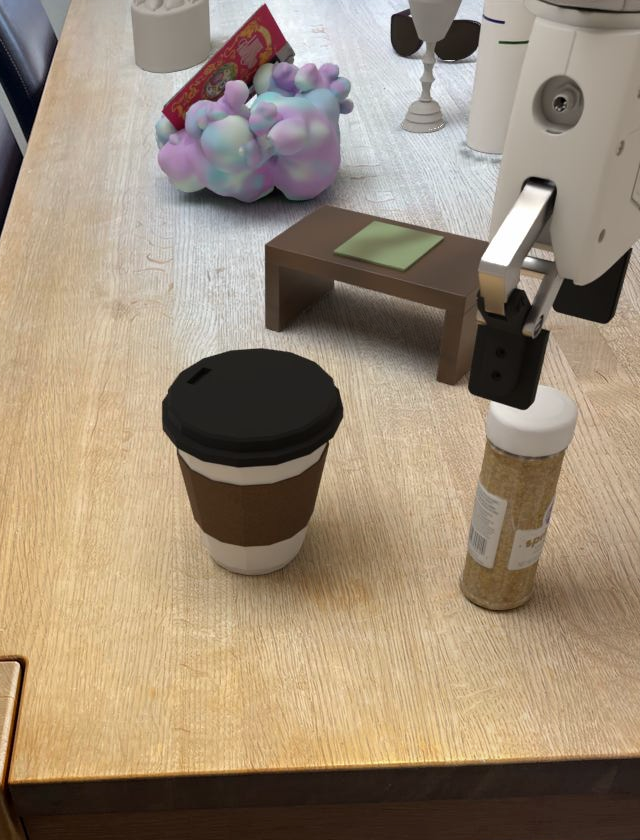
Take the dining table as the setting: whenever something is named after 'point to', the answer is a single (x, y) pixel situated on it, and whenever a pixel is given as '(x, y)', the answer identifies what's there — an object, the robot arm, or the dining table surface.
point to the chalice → (429, 60)
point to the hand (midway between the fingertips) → (542, 355)
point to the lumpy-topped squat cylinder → (170, 34)
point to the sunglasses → (452, 47)
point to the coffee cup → (252, 451)
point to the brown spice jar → (516, 497)
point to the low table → (378, 272)
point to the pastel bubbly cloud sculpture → (255, 120)
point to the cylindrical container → (497, 72)
